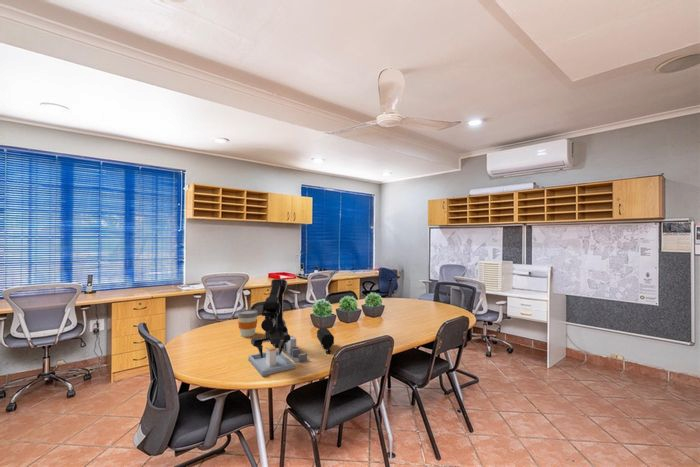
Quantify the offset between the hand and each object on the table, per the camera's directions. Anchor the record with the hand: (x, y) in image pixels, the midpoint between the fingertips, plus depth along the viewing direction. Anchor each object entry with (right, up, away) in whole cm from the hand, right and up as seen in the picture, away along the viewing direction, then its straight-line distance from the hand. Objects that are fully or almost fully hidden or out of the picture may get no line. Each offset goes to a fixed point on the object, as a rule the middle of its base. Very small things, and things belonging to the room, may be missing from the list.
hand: (270, 356), depth 163 cm
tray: (0, -4, 0) cm, 4 cm away
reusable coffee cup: (-27, -4, +48) cm, 55 cm away
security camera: (+26, -5, +23) cm, 35 cm away
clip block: (+10, -4, +12) cm, 16 cm away
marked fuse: (0, -4, 0) cm, 4 cm away
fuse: (+7, -4, +16) cm, 18 cm away
